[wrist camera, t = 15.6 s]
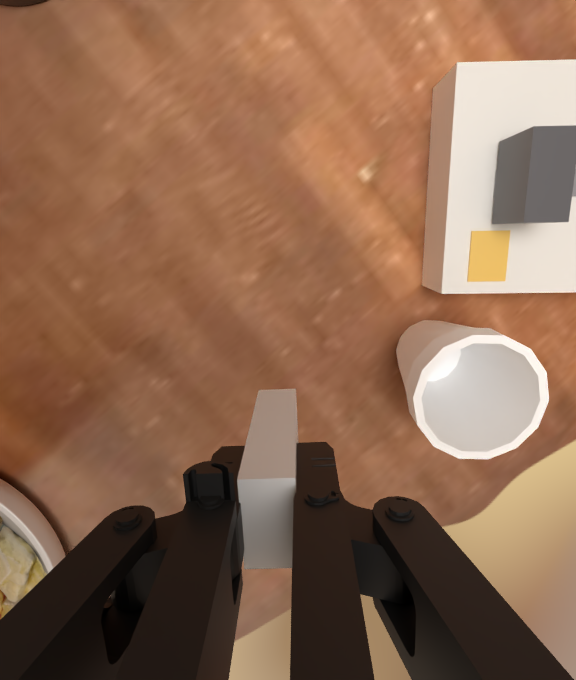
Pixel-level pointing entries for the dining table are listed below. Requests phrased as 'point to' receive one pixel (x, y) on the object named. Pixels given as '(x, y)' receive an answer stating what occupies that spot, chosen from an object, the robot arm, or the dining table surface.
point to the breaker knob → (535, 176)
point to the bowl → (23, 547)
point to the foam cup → (471, 388)
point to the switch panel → (493, 180)
